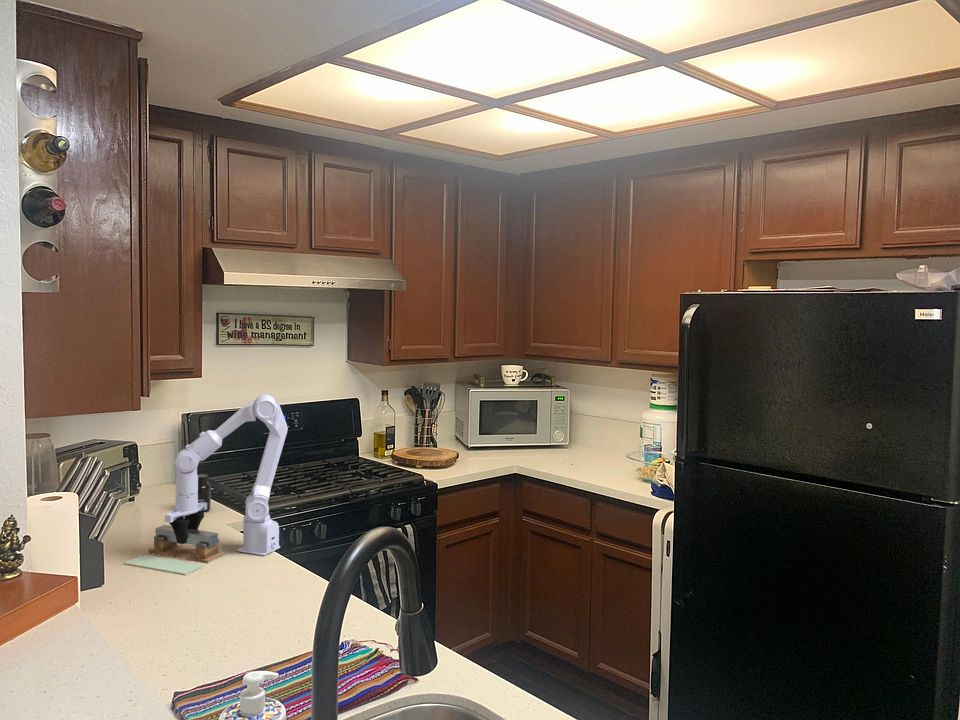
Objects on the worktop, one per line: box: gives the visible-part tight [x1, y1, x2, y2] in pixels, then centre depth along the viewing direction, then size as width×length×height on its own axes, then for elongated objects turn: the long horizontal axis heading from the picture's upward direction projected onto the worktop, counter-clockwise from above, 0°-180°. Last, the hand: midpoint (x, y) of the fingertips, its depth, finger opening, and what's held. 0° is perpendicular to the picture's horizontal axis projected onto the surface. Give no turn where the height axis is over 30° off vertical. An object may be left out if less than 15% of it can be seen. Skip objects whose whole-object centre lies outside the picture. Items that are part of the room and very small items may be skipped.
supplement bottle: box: [197, 473, 212, 514], centre depth 244 cm, size 7×7×12 cm
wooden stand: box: [147, 535, 226, 564], centre depth 202 cm, size 20×7×5 cm, turn 72°
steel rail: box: [154, 524, 219, 547], centre depth 202 cm, size 18×4×3 cm, turn 72°
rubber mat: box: [123, 554, 205, 576], centre depth 193 cm, size 20×7×1 cm, turn 72°
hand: (186, 541), depth 202 cm, fingers closed on steel rail, 3 cm apart
